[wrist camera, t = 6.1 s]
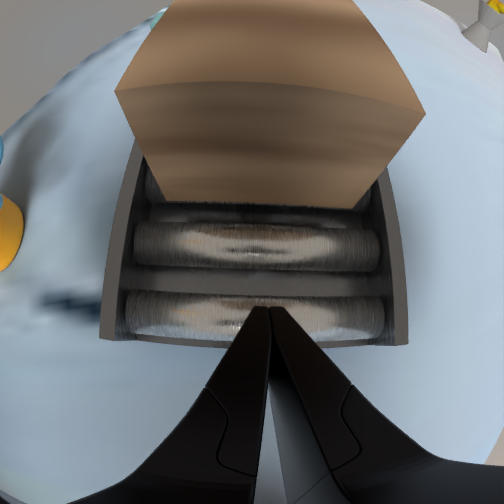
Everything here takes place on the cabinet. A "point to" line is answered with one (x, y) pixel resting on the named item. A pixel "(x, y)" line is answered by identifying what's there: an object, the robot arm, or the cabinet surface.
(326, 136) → the brown wooden block
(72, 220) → the cabinet surface
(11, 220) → the orange post with rings
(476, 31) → the lava lamp
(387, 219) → the roller bed
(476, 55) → the cabinet surface
